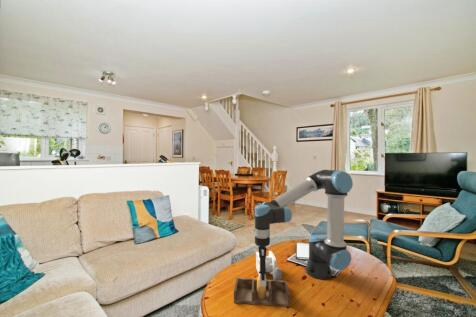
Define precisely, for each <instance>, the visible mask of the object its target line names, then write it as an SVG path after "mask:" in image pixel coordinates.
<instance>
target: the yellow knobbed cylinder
mask: <svg viewBox="0 0 476 317" xmlns="http://www.w3.org/2000/svg"><path fill="white" fill-rule="evenodd" d="M256 279H257V298H259V299H265V298H266V287H264V286H260V276H259V275H258V276H257V278H256Z"/></svg>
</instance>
